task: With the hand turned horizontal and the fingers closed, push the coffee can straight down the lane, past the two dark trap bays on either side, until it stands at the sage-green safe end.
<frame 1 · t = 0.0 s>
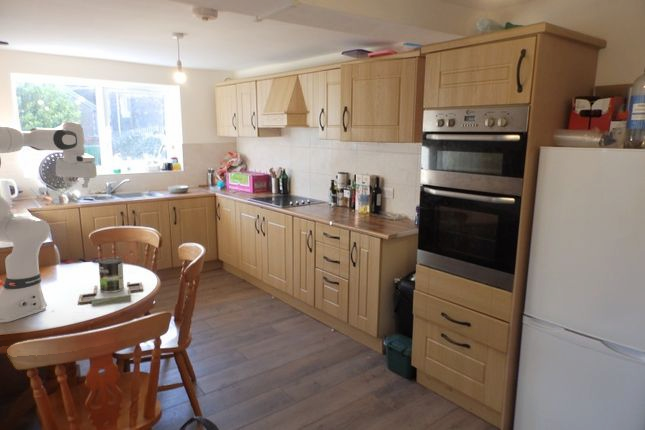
hand: (76, 187, 201), 48 cm above the table, tool pointing down, fingers open, 8 cm apart
lane: (112, 294, 197), on the table
coffee can: (112, 289, 204), on the table
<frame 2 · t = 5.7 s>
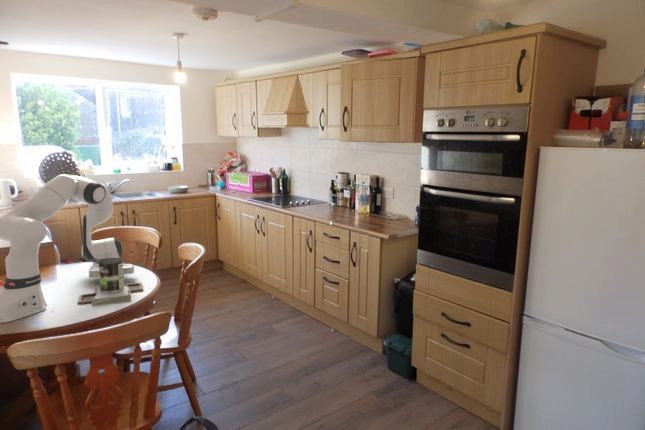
hand: (111, 275, 207), 5 cm above the table, tool horizontal, fingers closed, pressing on coffee can
coffee can: (112, 289, 204), on the table, touching gripper
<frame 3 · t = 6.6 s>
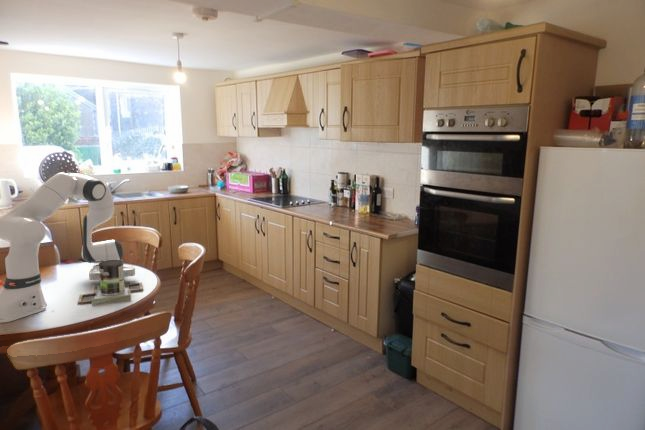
hand: (112, 277, 204), 5 cm above the table, tool horizontal, fingers closed, pressing on coffee can
coffee can: (113, 292, 200), on the table, touching gripper
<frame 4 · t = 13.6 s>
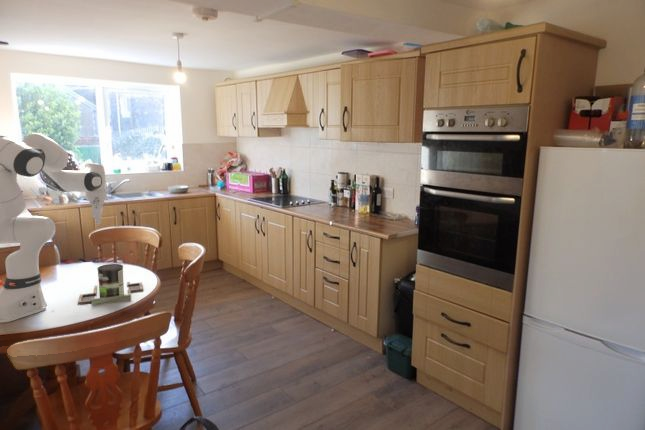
hand: (98, 224, 210), 29 cm above the table, tool pointing down, fingers closed
coffee can: (112, 297, 194), on the table
at the end: coffee can inside the target area on the lane (0.3 cm from its centre), point 0.0 cm above the lane's base; coffee can tilted 0°; coffee can moved 11.3 cm from its start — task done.
